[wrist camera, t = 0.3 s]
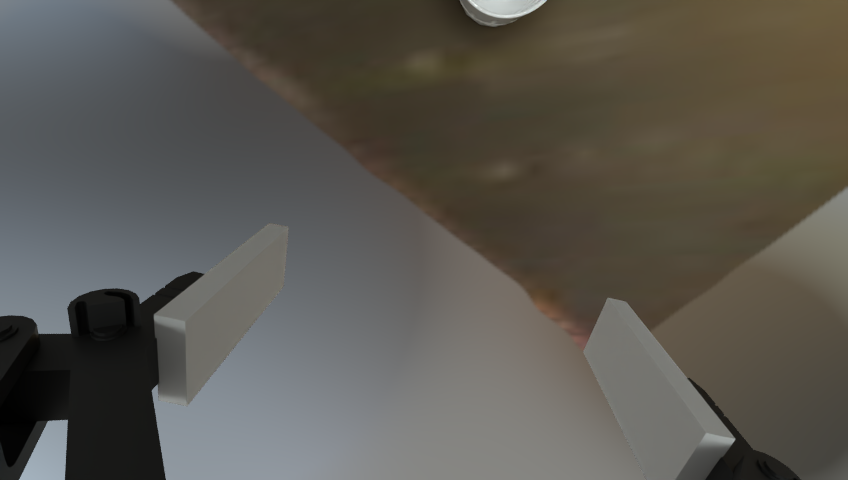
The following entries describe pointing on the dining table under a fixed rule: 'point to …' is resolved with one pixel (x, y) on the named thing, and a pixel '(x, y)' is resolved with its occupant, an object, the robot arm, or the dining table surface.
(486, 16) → the white cup
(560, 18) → the dining table surface
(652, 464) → the robot arm
